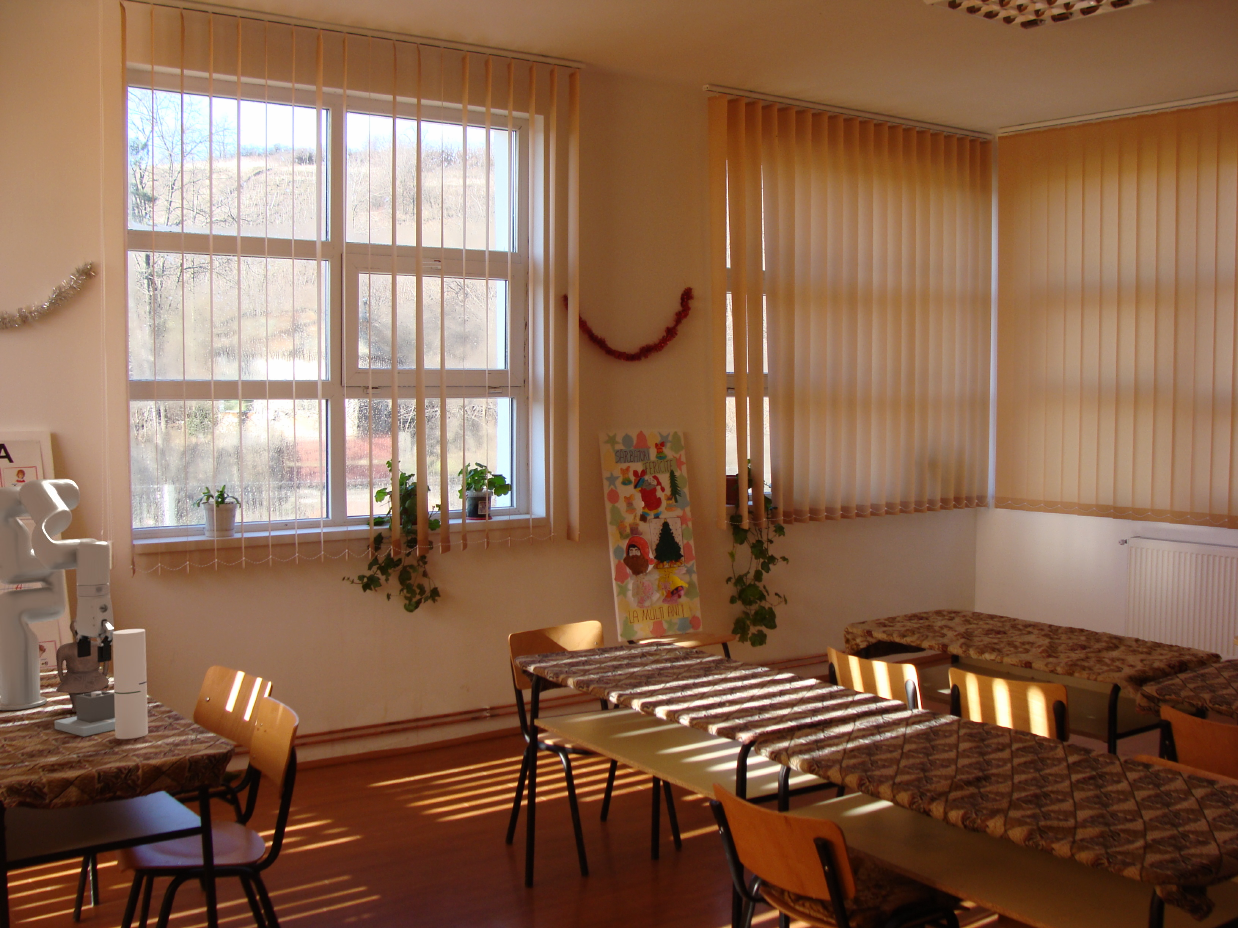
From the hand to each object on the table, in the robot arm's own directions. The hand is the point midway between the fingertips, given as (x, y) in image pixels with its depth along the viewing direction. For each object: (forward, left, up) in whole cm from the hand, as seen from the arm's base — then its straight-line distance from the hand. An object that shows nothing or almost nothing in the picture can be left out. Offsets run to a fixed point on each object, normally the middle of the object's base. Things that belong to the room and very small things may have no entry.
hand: (94, 659), depth 267 cm
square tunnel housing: (+1, 0, -15) cm, 15 cm away
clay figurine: (-21, +8, -17) cm, 28 cm away
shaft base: (+1, 0, -17) cm, 17 cm away
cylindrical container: (+17, 0, -17) cm, 24 cm away
